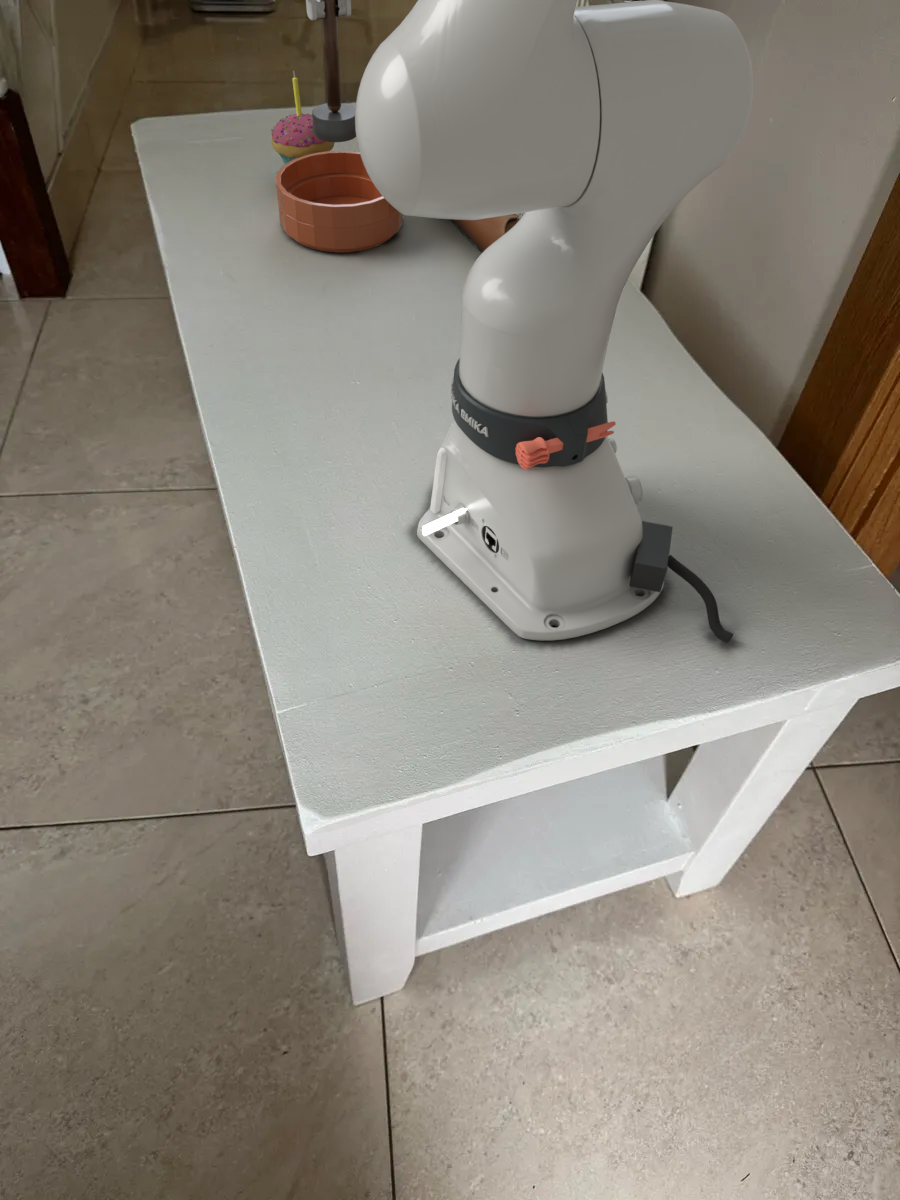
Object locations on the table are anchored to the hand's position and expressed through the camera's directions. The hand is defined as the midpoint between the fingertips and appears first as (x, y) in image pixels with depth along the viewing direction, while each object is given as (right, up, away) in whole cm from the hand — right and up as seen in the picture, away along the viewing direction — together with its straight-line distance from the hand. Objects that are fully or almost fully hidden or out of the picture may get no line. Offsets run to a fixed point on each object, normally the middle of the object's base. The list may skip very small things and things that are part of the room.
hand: (329, 16), depth 100 cm
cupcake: (-7, -4, +27) cm, 28 cm away
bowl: (-1, -15, +17) cm, 23 cm away
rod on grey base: (0, -8, +9) cm, 12 cm away
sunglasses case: (+18, -17, +17) cm, 30 cm away
